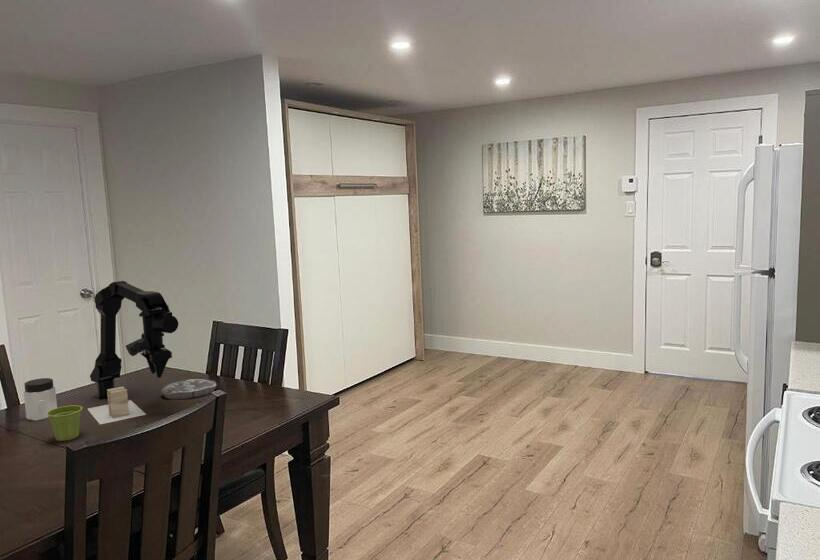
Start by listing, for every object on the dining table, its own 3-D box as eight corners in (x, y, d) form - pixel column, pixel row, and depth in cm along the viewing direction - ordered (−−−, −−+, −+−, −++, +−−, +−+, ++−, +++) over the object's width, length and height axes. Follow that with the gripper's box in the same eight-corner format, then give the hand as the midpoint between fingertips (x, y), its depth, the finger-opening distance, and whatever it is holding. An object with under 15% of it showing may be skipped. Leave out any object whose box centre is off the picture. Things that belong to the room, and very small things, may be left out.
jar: (26, 422, 197) (23, 386, 196) (26, 415, 204) (22, 381, 203) (58, 417, 202) (55, 381, 201) (56, 410, 209) (53, 376, 207)
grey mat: (87, 409, 209) (87, 408, 209) (130, 401, 217) (130, 400, 217) (100, 425, 193) (99, 424, 193) (146, 415, 202) (146, 414, 202)
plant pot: (60, 446, 177) (57, 417, 176) (42, 440, 182) (40, 412, 181) (91, 435, 185) (88, 408, 184) (74, 430, 190) (71, 403, 188)
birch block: (109, 414, 202) (107, 389, 201) (125, 410, 206) (123, 386, 204) (112, 418, 199) (110, 393, 198) (129, 414, 202) (127, 389, 201)
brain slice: (209, 383, 238) (209, 376, 238) (220, 394, 224) (220, 386, 223) (156, 392, 228) (155, 384, 228) (164, 404, 214) (163, 396, 213)
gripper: (120, 329, 206) (123, 374, 208) (134, 338, 191) (138, 386, 193) (154, 325, 213) (157, 368, 215) (170, 333, 198) (174, 379, 200)
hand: (156, 375), depth 206 cm, fingers open, 7 cm apart
